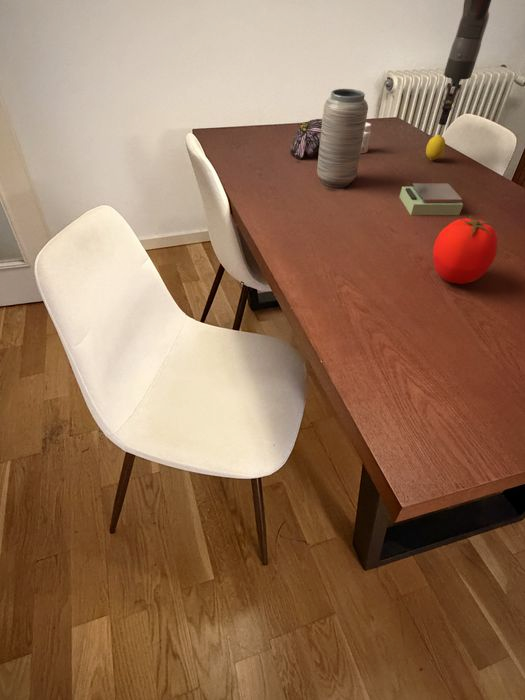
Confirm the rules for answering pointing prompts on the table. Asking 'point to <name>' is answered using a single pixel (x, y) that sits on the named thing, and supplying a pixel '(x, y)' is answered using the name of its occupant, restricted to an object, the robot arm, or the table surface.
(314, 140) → the decorative flower
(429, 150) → the lemon
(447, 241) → the tomato
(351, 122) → the vase
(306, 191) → the table surface
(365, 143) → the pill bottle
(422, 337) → the table surface
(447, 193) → the scale pan
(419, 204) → the scale
